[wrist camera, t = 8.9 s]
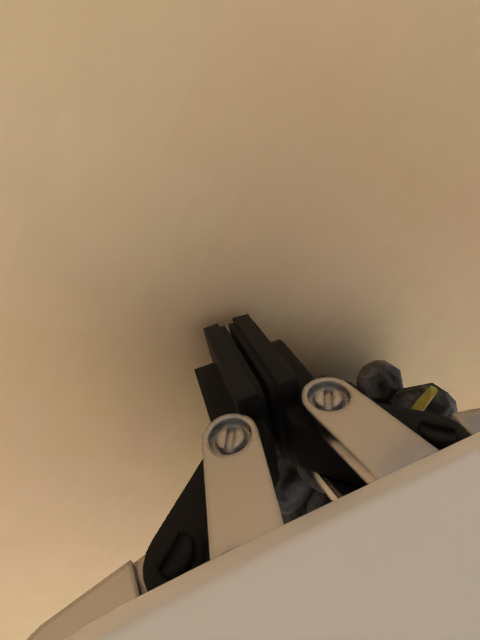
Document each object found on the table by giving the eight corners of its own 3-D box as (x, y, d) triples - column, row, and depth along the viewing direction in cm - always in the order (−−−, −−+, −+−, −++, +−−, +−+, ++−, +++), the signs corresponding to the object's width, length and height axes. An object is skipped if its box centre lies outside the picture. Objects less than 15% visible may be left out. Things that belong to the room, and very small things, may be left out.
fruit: (438, 716, 13) (661, 522, 6) (252, 710, 14) (272, 512, 7) (368, 515, 21) (436, 326, 14) (249, 512, 21) (258, 322, 14)
